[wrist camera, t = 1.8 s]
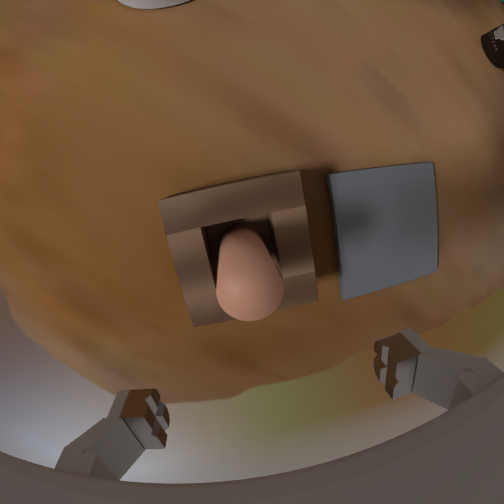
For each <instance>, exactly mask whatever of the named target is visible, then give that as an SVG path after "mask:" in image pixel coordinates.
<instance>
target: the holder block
mask: <svg viewBox="0 0 504 504" xmlns="http://www.w3.org/2000/svg"><path fill="white" fill-rule="evenodd" d="M158 204H159V208H160V212H161V216H162V220H163V224H164V228H165V232H166V236H167V240H168V243H169V247H170V251H171V254H172V258H173V262H174V265H175V269H176V272H177V275H178V279H179V282H180V286H181V289H182V292H183V295H184V299H185V302H186V305H187V308H188V311H189V314H190V317H191V320H192V323H193V326H194V327H197V326H203V325H208V324H213V323H219V322H224V321H229V320H234V319H235V318H233V317H231V316H230V315H228V314H227V313H226V312H225V311H224V310H223V309H222V308H221V306H220V304H219V302H218V299H217V295H216V287H217V274H218V263H219V251H220V241H221V236H222V234H223V232H224V231H225V229H226V228H227V227H229V226H230V225H232V224H235V223H247V224H250V225H251V226H253V227H254V228H255V229H256V230H257V231H258V233H259V235H260V236H261V238H262V240H263V242H264V244H265V246H266V248H267V250H268V252H269V254H270V256H271V258H272V260H273V262H274V264H275V266H276V268H277V270H278V272H279V274H280V276H281V278H282V280H283V285H284V293H283V298H282V300H281V302H280V304H279V306H278V307H277V308H276V310H280V309H285V308H289V307H293V306H298V305H302V304H306V303H310V302H314V301H318V292H317V283H316V275H315V267H314V260H313V252H312V245H311V238H310V231H309V224H308V218H307V212H306V205H305V199H304V193H303V188H302V182H301V176H300V171H284V172H278V173H273V174H267V175H262V176H257V177H252V178H246V179H242V180H237V181H232V182H227V183H222V184H218V185H213V186H209V187H205V188H200V189H196V190H192V191H187V192H183V193H179V194H175V195H171V196H168V197H166V198H163V199H161V200H159V201H158ZM276 310H275V311H276Z"/></svg>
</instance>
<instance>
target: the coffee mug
mask: <svg viewBox="0 0 504 504" xmlns="http://www.w3.org/2000/svg"><path fill="white" fill-rule="evenodd" d="M481 44H482V47H483V50H484V52H485V54H486V56H487V57H488V59H489V60H490V62H491V63H492V64H493V65H494V66H495V67H497V68H504V24H502V25H500V26H498V27H497V28H495V29H493V30H491V31H489V32H488V33H486V34H484V35H482V36H481Z"/></svg>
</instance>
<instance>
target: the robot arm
mask: <svg viewBox="0 0 504 504" xmlns="http://www.w3.org/2000/svg"><path fill="white" fill-rule="evenodd" d="M118 1H119V2H121V3H122V4H124V5H127V6H130V7H133V8H140V9H156V8H164V7H169V6H174V5H177V4H181V3H184V2H187V1H189V0H118ZM374 351H375V352H376V354H377V355H376V357H375V358H374V371H375V374H376V376H377V378H378V380H379V381H380V382H382V383H385V390H386V392H387V393H388V394H389V396H390V397H391V399H392V400H393V399H396V398H398V397H401V396H403V395H406V394H408V393H410V392H412V393H413V394H415V395H417V396H419V397H422V398H424V399H426V400H428V401H430V402H433V403H435V404H437V405H439V406H442V407H444V408H446V409H448V411H447V412H445V413H443V414H442V415H440V416H438V417H436V418H434V419H432V420H431V421H428V422H427V423H425V424H423V425H421V426H419V427H417V428H415V429H413V430H410V431H408V432H406V433H404V434H402V435H400V436H397V437H395V438H393V439H390V440H388V441H386V442H383V443H381V444H379V445H376V446H373V447H371V448H368V449H365V450H363V451H360V452H357V453H354V454H352V455H349V456H345V457H342V458H339V459H336V460H333V461H330V462H326V463H322V464H319V465H315V466H311V467H307V468H303V469H299V470H294V471H290V472H285V473H280V474H275V475H269V476H263V477H257V478H250V479H243V480H234V481H224V482H212V483H191V484H190V483H189V484H161V483H140V482H127V481H120V479H121V478H122V476H123V475H124V474H125V473H126V472H127V471H128V469H129V468H130V467H131V466H132V465H133V464H134V462H135V461H136V460H137V459H138V458H139V457H140V455H141V454H142V453H143V452H144V451H145V449H164V448H165V446H166V440H167V434H166V433H165V430H166V429H167V428H168V427H169V423H170V419H169V412H168V409H167V407H166V405H165V404H164V403H162V402H161V401H160V397H161V396H160V394H159V392H158V391H157V390H156V389H137V390H120V391H119V392H118V393H117V395H116V397H115V400H114V402H113V405H112V407H111V409H110V412H109V414H108V416H107V418H103V419H102V420H100V421H99V422H98V423H97V424H95V425H94V426H93V427H91V428H90V429H89V430H87V431H86V432H85V433H83V434H82V435H81V436H79V437H78V438H77V439H75V440H74V441H73V442H71V443H70V444H69V445H67V446H66V447H64V449H63V451H62V453H61V455H60V458H59V460H58V462H57V464H56V467H55V469H52V468H49V467H45V466H42V465H38V464H35V463H32V462H28V461H25V460H22V459H19V458H16V457H13V456H11V455H8V454H6V453H3V452H1V451H0V504H504V373H503V372H502V371H501V370H500V369H499V368H497V367H496V366H495V365H494V364H493V363H491V361H489V360H488V359H487V358H485V357H480V356H475V355H470V354H465V353H461V352H456V351H451V350H447V349H442V348H438V347H435V348H432V347H431V346H430V345H429V344H428V343H427V342H425V341H424V340H423V339H422V338H421V337H420V336H419V335H418V334H417V333H416V332H415V331H413V330H412V329H410V328H409V329H406V330H404V331H401V332H399V333H397V334H394V335H392V336H389V337H386V338H384V339H381V340H378V341H375V344H374Z"/></svg>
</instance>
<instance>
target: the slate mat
mask: <svg viewBox="0 0 504 504" xmlns="http://www.w3.org/2000/svg"><path fill="white" fill-rule="evenodd" d="M326 177H327V183H328V189H329V196H330V203H331V210H332V217H333V224H334V232H335V241H336V250H337V259H338V269H339V281H340V293H341V297H342V299H343V300H346V299H350V298H353V297H357V296H361V295H364V294H367V293H371V292H374V291H378V290H381V289H384V288H388V287H391V286H394V285H397V284H401V283H404V282H407V281H410V280H413V279H416V278H419V277H422V276H425V275H428V274H431V273H434V272H437V259H438V223H437V201H436V187H435V176H434V167H433V162H422V163H412V164H402V165H393V166H384V167H376V168H368V169H360V170H353V171H346V172H339V173H332V174H326Z"/></svg>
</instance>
